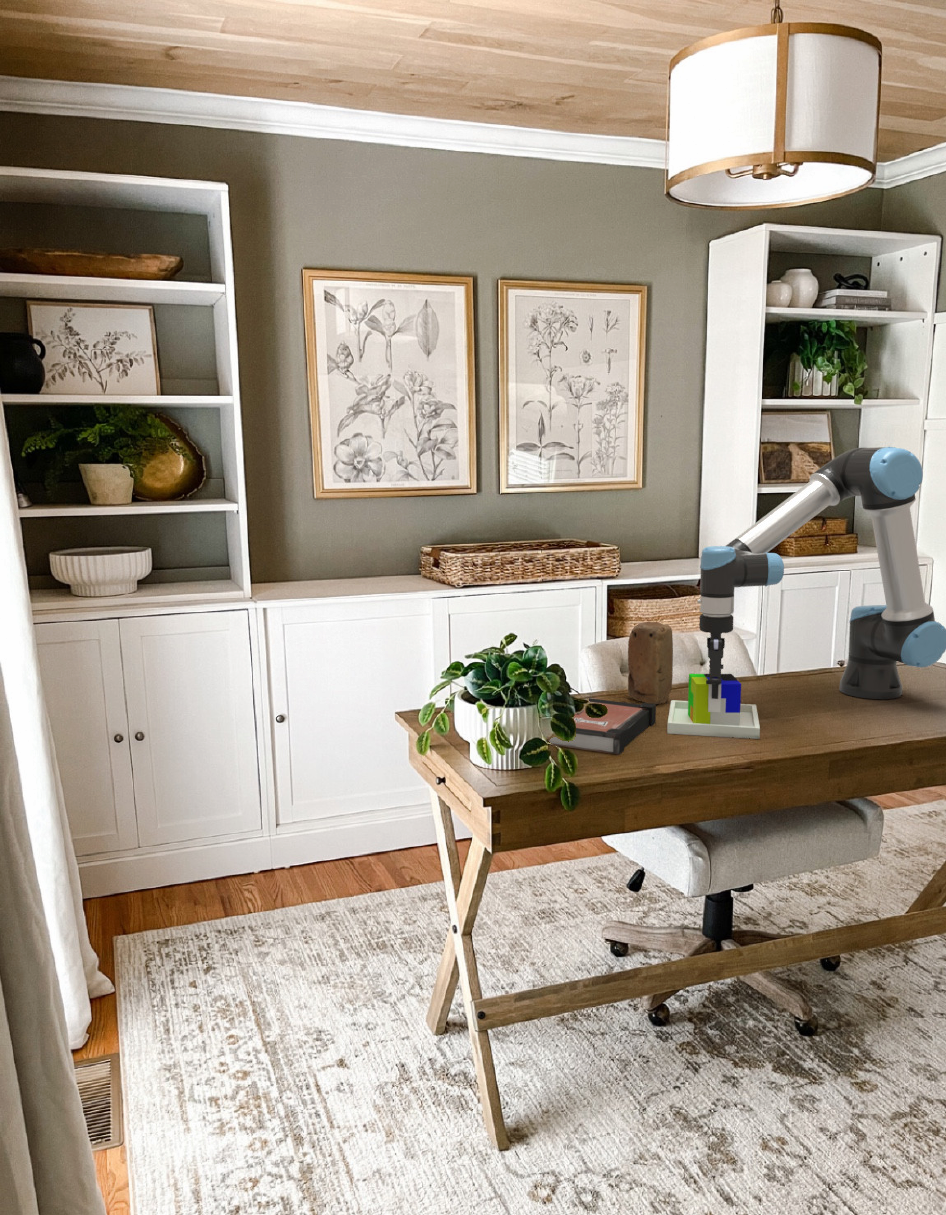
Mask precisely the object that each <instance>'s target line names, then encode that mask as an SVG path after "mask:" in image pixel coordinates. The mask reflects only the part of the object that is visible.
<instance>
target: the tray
mask: <svg viewBox="0 0 946 1215" xmlns="http://www.w3.org/2000/svg"><path fill="white" fill-rule="evenodd" d="M757 709H758V708H757V704H748V703H746V704H745V703H741V704H740V726H734V725H717V724H700V723H693V722H692V720H691V719H690V717H689V716H688V700H673V699H672V700H671V701H670V705H669V711H668V712H669V713H668V718H667V730H666V731H667V734H669V735H670V734H671V735H685V736H701V737H702V736H704V737H718V738H719V737H721V738H732V737H734V738H735V739H749V738H750V740H752V739H753V740H760V739H761V738H760V735H761V734H760V733H761V732H760V730H761V728H760V722H759V721H760V720H759V715H758V714H759V713H758V710H757Z"/></svg>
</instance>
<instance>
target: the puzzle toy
mask: <svg viewBox="0 0 946 1215" xmlns="http://www.w3.org/2000/svg"><path fill="white" fill-rule="evenodd" d="M709 679H710V674H709V673H688V691H687V692H688V696H687V698H688V700H687V701H688V716H689V717H690V719H691V720H692V722H693V723H700V724H717V725H734V726H740V704H742V703H741V701H742V696H741V695H742V683H741V682H740V681H739V680H738V679H737V677H735V676H734V674H732V673H721V680H722V682H721V712H708V698H709V684H706V680H709Z"/></svg>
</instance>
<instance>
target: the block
mask: <svg viewBox="0 0 946 1215" xmlns="http://www.w3.org/2000/svg"><path fill="white" fill-rule="evenodd" d="M673 640H674V639H673V629H672V627H671V626H670V625H669V624H663V623H660V622H658V621H657V622H656V621H654V622H652V621H646V622H645V621H644V622H640V623H638V624H636V625H634V627H633V628H632V630H631V631H630V634H629V639H628V642H627V665H628V677H627V693H628V696H629V698H631V699H633V698H634V699H633V700H636V701H638V700H639V701H638V702H641V701H642V702H641V703H644V702H645V703H650V704H656V705H661V703H662V704H664V702H665V703H666V702H667V701H668V700H669V697H670V693H671V691H672V687H673V678H674V677H673V672H674V670H673V669H674V665H673V664H674V661H673V660H674V641H673Z"/></svg>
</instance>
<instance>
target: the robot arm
mask: <svg viewBox="0 0 946 1215" xmlns="http://www.w3.org/2000/svg"><path fill="white" fill-rule="evenodd" d="M923 473H924V472H923V468H922V464H921V462H920V460H919V459H918V457H917V456H916V455H915V454H914V453H912V452H911V451H909V450H907V449H905V448H901V447H900V448H898V447H893V446H887V447H886V446H884V447H855V448H853V449H849V450H846V451H845V452H843V453H841V454H839V455H837V456H836V457H834V458H833V459H831V460H829V461H828V462H827V463H825V464H824V465H823V466H821V467H820V468H818V469H817V470H816V471H814V473H812V474H811V475H810V476H809V481H808V483H806V484H805V485H803V486H802V487H801V488H799V489H798V490H797V491H795V492H794V493H793V494H791V495H790V496H789V497H788V498H786V499H785V500H784V501H782V502H781V503H780V504H778V505H777V506H776V507H775V508H773V509H772V510H771V511H769V512H768V513H767V514H765V515H764V516H762V517H761V518H760V519H759V520H758V521H757V522H755V523H754V524H752V525H751V526H750V527H748V528H747V529H746V530H744V531H743V532H742V533H741V534H739V535H738V536H737V537H736V538H734V539H733V540H731V541H730V542H728V544H726V545H723V546H722V545H711V546H706V547H704V548H703V549H702V551H701V556H700V566H699V569H700V587H699V588H700V598H699V599H697V602H696V603H697V604H700V605H699V612H700V613H701V614H700V615H699V625H698V626H699V630H700V631H701V632H703V633H710V634H709V635H710V636H709V637H706V647H707V658H708V659H709V661H708V663H709V665H708V667H709V669H708V674H710V679H709V680H706V684H709V698H708V712H721V682H722V680H721V674H722V670H724V664H722V659H723V658H724V649H725V648H726V647H725V642H726V639H725V637H722V634H729V633H731V632H733V630H734V616H733V615H732V614H734V612H735V611H734V610H735V588H745V587H767V586H772V585H773V586H774V585H778V584H779V583H781V581H782V580H783V577H784V574H785V565H784V561H783V558H782V557H781V556H780V555H779V554H778V553H775V552H770V551H771V550H773V549H775V547H776V546H778V545H779V544H780V543H782V542H783V541H784V540H785V539H786V540H787V538H788V537H789V536H791V535H792V534H793V533H795V532H796V531H797V530H799V529H800V528H801V527H803V526H804V525H805V524H807V523H808V522H809V521H811V520H812V519H813V518H814V517H816V516H817V515H819V514H821V512H822V511H824V510H825V509H827V507H829V506H831V507H833V506H834V507H835V506H837V505H839V504H840V503H841V502H843V501H844V500H846V499H849V498H853V497H860V499H861V506H862V509H863V511H865V513H866V512H867V513H868V514H869V515H870V517H871V521H872V522H871V523H872V528H873V534H874V540H875V546H876V551H877V557H878V558H877V559H878V565H879V571H880V574H881V581H882V587H883V592H884V600H885V604H883V605H882V604H881V605H880V604H878V605H874V604H873V605H859V606H855V607H853V608H852V610H851V613H850V619H849V635H848V636H849V637H848V639H849V640H848V657H847V658H848V660H847V663H846V666H845V669H844V671H843V672H842V676H841V678H840V680H839V691H840V692H841V693H843V694H845V695H848V696H850V697H855V698H861V699H870V700H891V699H897V698H900V697H902V696H903V684H902V680H901V677H900V674H899V670H898V665H897V663H902V664H904V665H906V666H908V667H915V668H927V667H930V666H932V665H935V663H937V662H938V661H939V660H940V659H941V658H942V656H943V654H944V653H945V652H946V627H945V626H944V625H942V624H941V623H940V622H939V621H936V620H935V612H934V608H933V606H932V605H930V604H928V603H927V602H926V600H925V595H924V593H925V592H924V588H923V582H922V577H921V576H922V575H921V569H920V564H919V556H918V551H917V550H918V549H917V544H916V539H915V531H914V526H913V520H912V514H911V513H912V511H911V507H912V505H913V504H914V503H915V502H916V500H917V498H916V493H917V492H918V491H919V490H920V487H921V486H920V484H921V485H922V483H923V478H924V477H923V476H924V474H923ZM901 695H902V696H901Z"/></svg>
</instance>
